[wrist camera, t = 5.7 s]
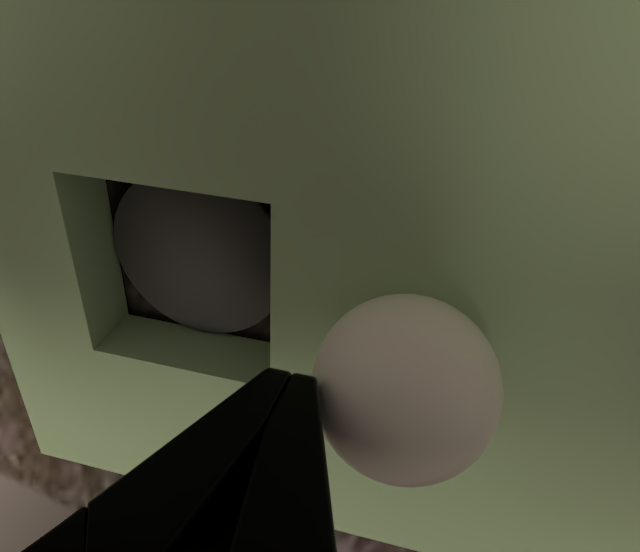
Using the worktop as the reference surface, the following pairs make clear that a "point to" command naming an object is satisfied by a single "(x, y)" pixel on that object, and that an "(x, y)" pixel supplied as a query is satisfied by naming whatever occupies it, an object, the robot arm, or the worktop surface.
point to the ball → (408, 390)
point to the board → (333, 231)
